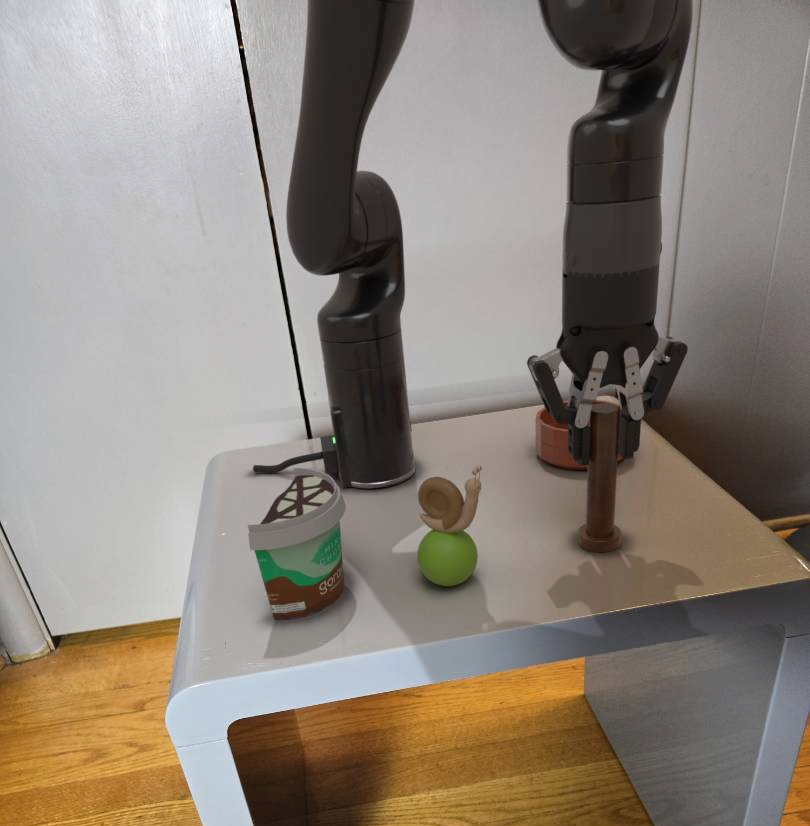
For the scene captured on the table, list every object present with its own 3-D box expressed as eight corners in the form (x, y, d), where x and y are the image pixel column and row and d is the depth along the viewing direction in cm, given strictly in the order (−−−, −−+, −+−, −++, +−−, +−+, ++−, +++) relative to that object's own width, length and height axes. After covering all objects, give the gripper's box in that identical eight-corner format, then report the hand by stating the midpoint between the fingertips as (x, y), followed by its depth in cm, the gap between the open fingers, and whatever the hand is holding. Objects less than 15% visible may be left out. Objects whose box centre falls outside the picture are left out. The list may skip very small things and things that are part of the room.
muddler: (586, 555, 69) (590, 418, 63) (572, 535, 73) (574, 403, 66) (627, 548, 70) (635, 412, 63) (611, 529, 73) (617, 397, 67)
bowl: (552, 477, 85) (553, 437, 82) (525, 443, 94) (524, 406, 92) (644, 464, 86) (647, 423, 83) (607, 432, 95) (609, 394, 93)
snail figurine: (471, 606, 64) (463, 480, 58) (408, 589, 67) (395, 468, 61) (498, 575, 68) (494, 454, 62) (438, 561, 71) (428, 445, 65)
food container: (335, 633, 62) (318, 529, 57) (267, 629, 64) (245, 528, 59) (370, 558, 73) (358, 465, 68) (311, 556, 74) (295, 465, 69)
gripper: (673, 244, 63) (658, 434, 71) (511, 264, 61) (515, 455, 70) (719, 255, 56) (696, 463, 64) (538, 278, 55) (540, 487, 63)
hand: (602, 458), depth 67 cm, fingers open, 3 cm apart
